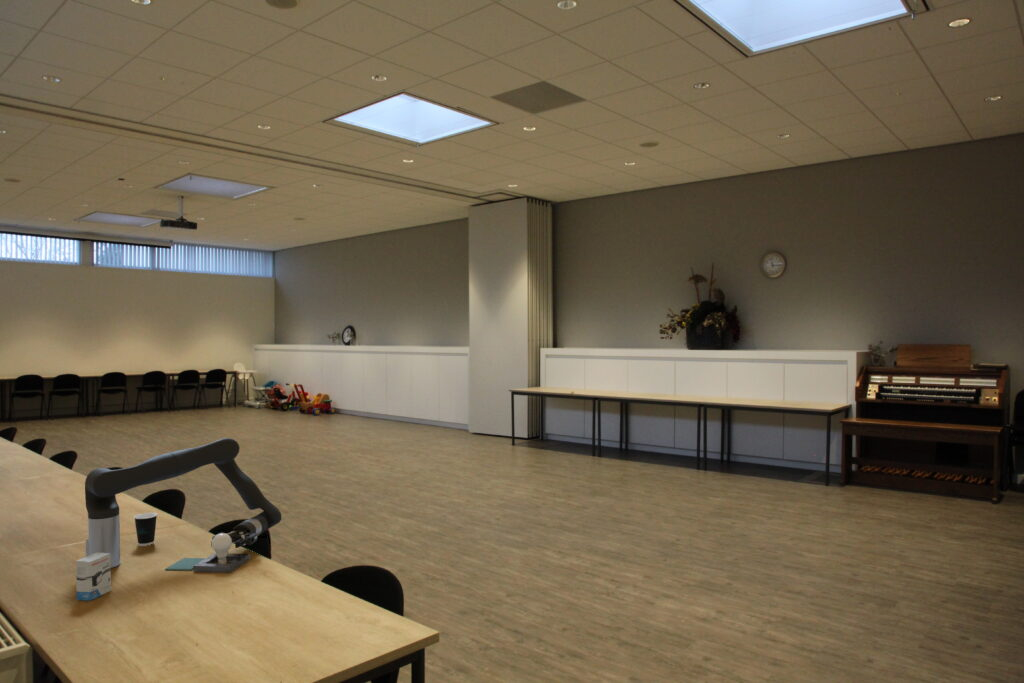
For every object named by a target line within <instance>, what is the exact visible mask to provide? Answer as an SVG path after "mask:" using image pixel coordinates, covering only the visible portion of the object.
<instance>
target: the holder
mask: <svg viewBox="0 0 1024 683" xmlns="http://www.w3.org/2000/svg"><path fill="white" fill-rule="evenodd" d="M248 560H249V561H250V554H249V553H227V556H226V561H231V562H227V563H226V564H218V562H217V561H218V557H217V554H216V552H214V553H212V554H210V555H209V556H207V557H206V559H204V560H202V561H201V562H199V563H197V564H196V565H194V566H193V570H192V572H194V573H218V574H219V573H223V574H224V573H226V574H227V573H228V574H232V573H233V572H234V571H236V570H237V569H239V568H240V567H241V566H243V565H245V564H246V563H247V562H249V561H248ZM246 561H247V562H246ZM215 562H216V563H215ZM245 562H246V563H245ZM242 564H243V565H242ZM239 566H240V567H239ZM238 567H239V568H238ZM236 568H237V569H236ZM235 569H236V570H235ZM232 571H233V572H232Z"/></svg>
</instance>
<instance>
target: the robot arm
mask: <svg viewBox="0 0 1024 683" xmlns="http://www.w3.org/2000/svg"><path fill="white" fill-rule="evenodd" d="M239 453H240V444H239V442H238V441H236V440H235V439H233V438H231V437H224V438H220V439H218V440H216V441H215V440H214V441H213V442H211V443H207V444H204V445H201V446H196V447H190V448H185V449H179V450H176V451H171V452H166V453H163V454H158V455H156V456H153V457H151V458H149V459H147V460H145V461H142V462H141V463H138V464H137V465H133V466H130V467H124V468H119V469H110V468H106V467H98V468H95V469H93V470H92V471H90V472H89V474H88V475H87V476H86V478H85V480H84V481H85V482H84V495H85V496H84V498H85V508H86V512H87V522H88V523H87V528H88V529H87V531H88V534H87V536H88V538H87V539H86V540H85V557H87V556H89V555H92V554H94V553H110V562H111V569H113V568H115V567H117V566H119V565H121V534H120V533H121V531H120V530H121V529H120V526H121V524H120V505H119V504H118V501H117V495H118V494H121V493H124V492H126V491H129V490H131V489H134V488H137V487H140V486H144V485H149V484H153V483H154V484H155V483H157V482H162V481H166V480H167V481H168V480H170V479H173V478H176V477H177V478H178V477H180V476H183V475H185V474H188V473H191V472H192V471H195V470H196V469H197V470H198V469H199V468H201V467H204V466H207V465H211V464H213V465H214V466H215V467H216V468H217V469H218V470H219V471H220V472H221V473H222V474H223V476H224V477H225V478H226V479H227V480H228V481H229V483H230V484H231V485H232V486H233V487H234V489H235V490H236V492H237V494H239V497H241V499H242V501H243V502H244V504H245V505H246V507H247V508H248V510H250V511H254V510H256V509H257V510H258V509H260V510H262V511H261V512H260V513H258V514H256V515H255V516H252V517H250V518H249V519H246V520H244V521H242V522H240V523H239V524H236V525H235V526H234V527H233V528H232V530H231V531H230V532H228V533H226V534H228V535H229V536H230V537H231V539H232V544H235V545H234V546H235V549H238V548H240V547H242V546H246V545H248V546H249V545H250V546H251V545H253V544H254V543H255V542H257V541H258V536H260V535H262V534H263V533H264V532H266V531H268V530H270V529H271V528H273V527H274V526H276V525H278V524H280V523H281V521H282V513H281V511H280V509H279V508H278V507H277V506H276V505H275V504H273V503H272V502H270V500H268V499H267V497H265V496H264V494H263V492H262V491H261V489H260V488H259V487H258V485H257V484H256V482H255V481H253V479H252V478H250V477H249V476H248V475H247V474H246V473H245V472H244V471H243V470H242V469H241V468H240V467H239V465H238V463H237V462H236V458H237V457H238V455H239ZM220 533H225V532H223V531H221V532H219V533H217V534H215V535H213V536H212V540H213V538H214V537H215V536H216V535H218V534H220ZM210 543H211V545H210V546H211V547H212V541H211V542H210Z"/></svg>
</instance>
